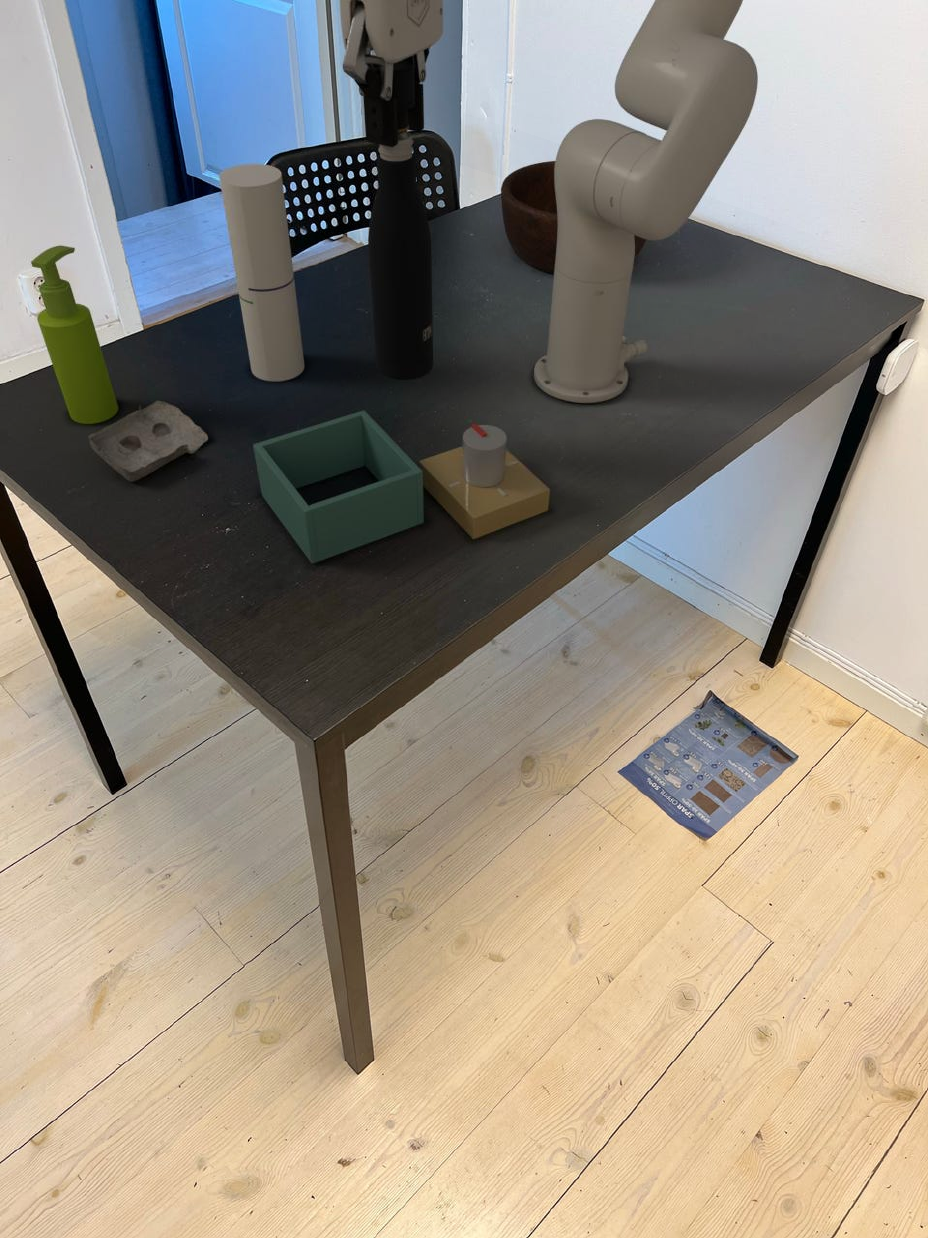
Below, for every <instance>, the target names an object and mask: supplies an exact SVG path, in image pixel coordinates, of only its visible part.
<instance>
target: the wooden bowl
mask: <svg viewBox="0 0 928 1238" xmlns="http://www.w3.org/2000/svg"><path fill="white" fill-rule="evenodd" d="M555 161H556V160H550V161H542V162H537V163H533V164H529V165H525V166H522V167H520V168H518V169H515V170H514V171H513V172H511V173H509V174H508V175H507V176H506V177H505V178H504V179H503V181H502V183H501V187H500V201H501V202H500V203H501V214H502V221H503V226H504V231H505V234H506V237H507V240H508V243H509V245H510V247H511V248H512V250H513V252H514V254H515V255H516V256H517V257H518V258H519V259H520V260H521V261H522V262H524V263H525V264H527V265H528V266H530V267H532V268H534V269H537V270H539V271H543V272H546V273H550V274H553V275H554V270H555V261H556V249H557V230H558V217H557V203H556V194H555V183H554V169H555ZM634 239H635V257H634V259H635V258H636V257H637V256H638V254H639V253H640V252H641V250H642V249H643V248H644V245H645V243H646V241H647V239H643V238H641V237H638V236H636V235H634Z"/></svg>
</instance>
